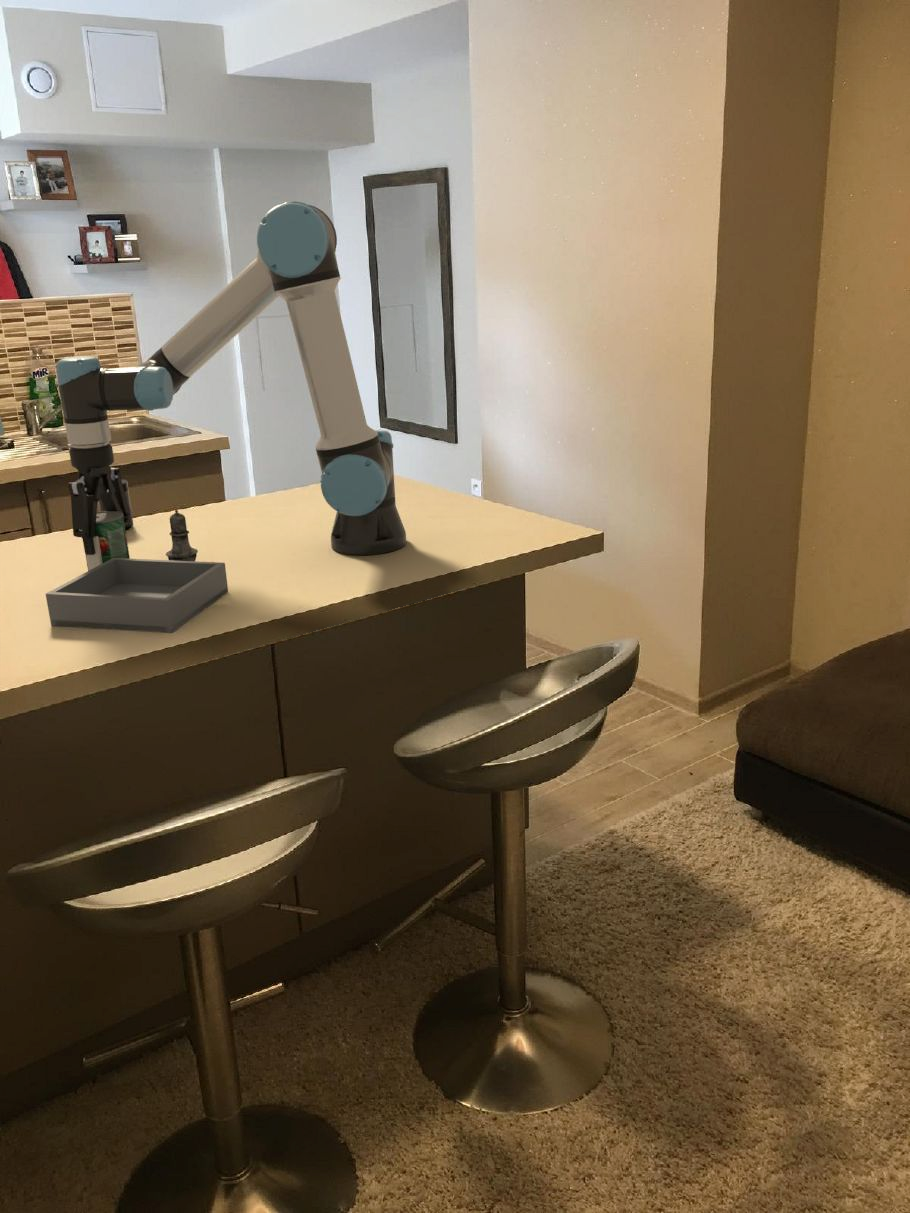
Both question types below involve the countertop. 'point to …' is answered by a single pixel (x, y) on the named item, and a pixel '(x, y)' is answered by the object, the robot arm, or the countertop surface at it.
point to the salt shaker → (180, 540)
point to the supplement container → (130, 523)
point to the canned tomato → (111, 535)
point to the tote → (138, 595)
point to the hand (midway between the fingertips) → (108, 563)
